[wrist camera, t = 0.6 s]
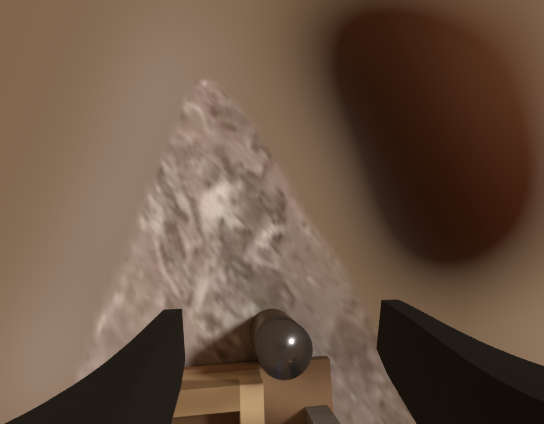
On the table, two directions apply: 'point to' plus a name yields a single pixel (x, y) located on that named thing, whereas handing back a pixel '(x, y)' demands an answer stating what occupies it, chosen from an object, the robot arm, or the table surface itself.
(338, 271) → the table surface
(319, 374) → the dock
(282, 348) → the black rounded block
